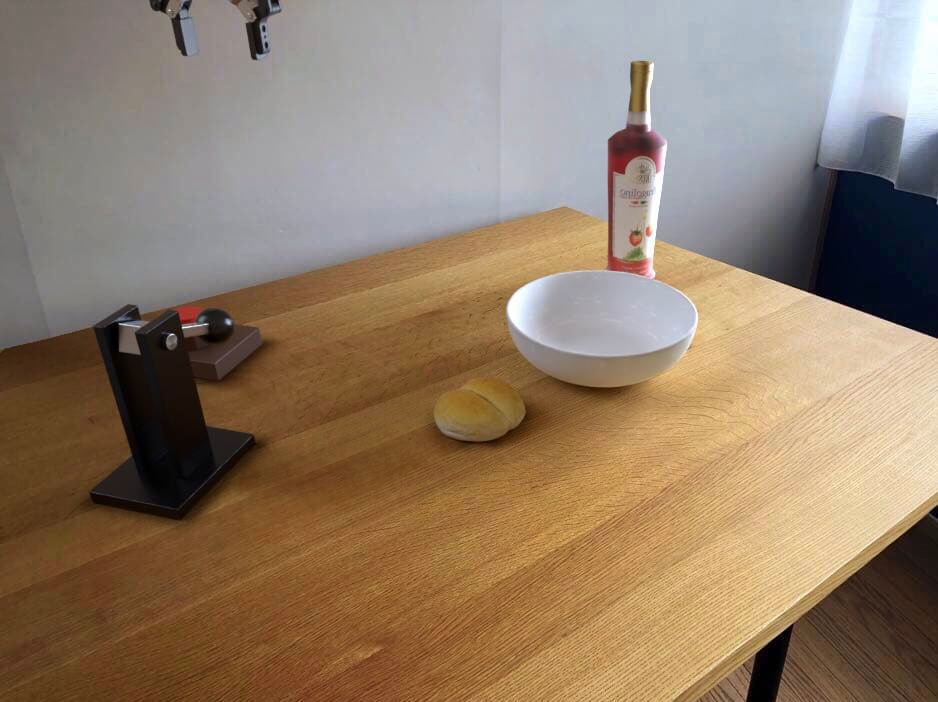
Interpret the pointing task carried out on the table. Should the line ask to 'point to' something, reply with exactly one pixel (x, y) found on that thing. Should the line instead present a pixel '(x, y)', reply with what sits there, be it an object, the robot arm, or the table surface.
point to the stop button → (188, 314)
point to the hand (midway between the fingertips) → (224, 57)
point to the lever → (185, 329)
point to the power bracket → (161, 422)
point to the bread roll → (479, 410)
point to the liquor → (635, 181)
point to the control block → (222, 352)
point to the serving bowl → (601, 326)
